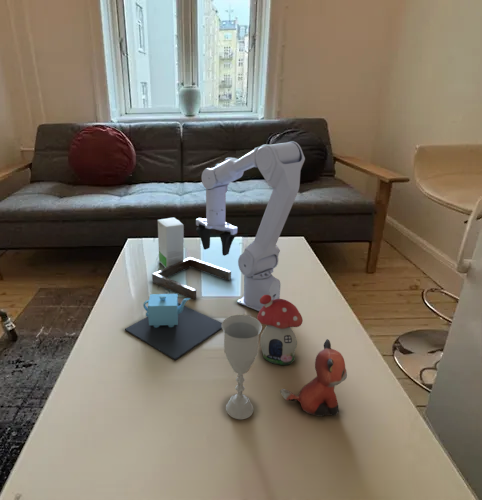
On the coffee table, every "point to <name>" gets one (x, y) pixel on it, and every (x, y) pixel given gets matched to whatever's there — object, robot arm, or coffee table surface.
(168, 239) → the cosmetic box
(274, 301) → the decorative ornament
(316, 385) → the stuffed fox
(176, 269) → the brown u-shaped frame
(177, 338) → the placemat
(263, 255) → the robot arm
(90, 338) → the coffee table surface
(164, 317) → the teapot
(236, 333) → the chalice
